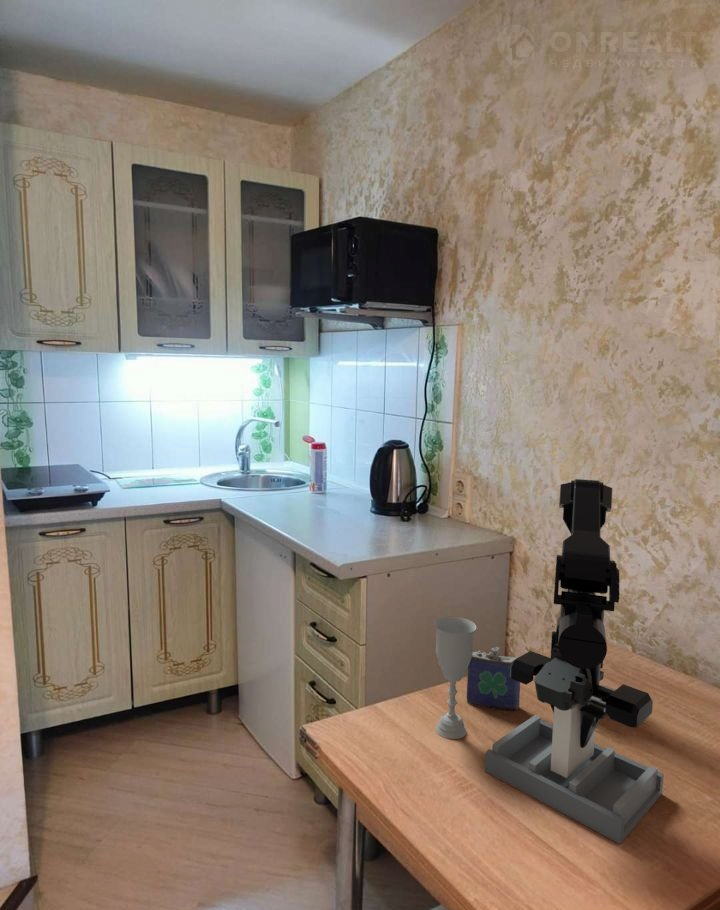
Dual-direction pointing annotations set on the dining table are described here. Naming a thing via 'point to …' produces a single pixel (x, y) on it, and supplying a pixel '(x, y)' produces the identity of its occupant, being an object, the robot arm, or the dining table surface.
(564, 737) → the white rectangular block
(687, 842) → the dining table surface
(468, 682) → the flask
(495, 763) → the rack
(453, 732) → the chalice
